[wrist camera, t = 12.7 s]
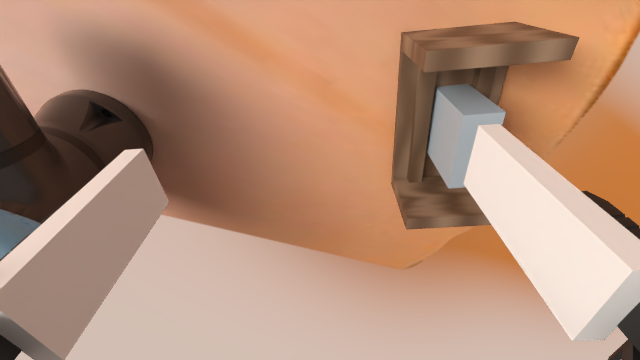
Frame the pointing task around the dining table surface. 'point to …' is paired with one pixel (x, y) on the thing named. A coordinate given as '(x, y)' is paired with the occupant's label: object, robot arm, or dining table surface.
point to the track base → (444, 70)
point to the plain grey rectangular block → (457, 129)
